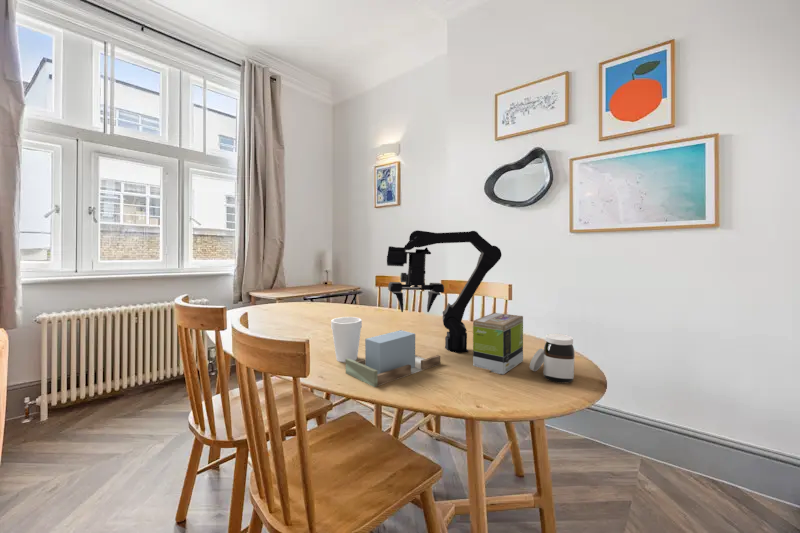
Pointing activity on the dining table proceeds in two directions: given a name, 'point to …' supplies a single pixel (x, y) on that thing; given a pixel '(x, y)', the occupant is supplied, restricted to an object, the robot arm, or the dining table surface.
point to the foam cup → (346, 337)
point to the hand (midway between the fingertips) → (415, 312)
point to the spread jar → (556, 358)
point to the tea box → (498, 342)
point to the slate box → (390, 351)
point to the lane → (374, 379)
